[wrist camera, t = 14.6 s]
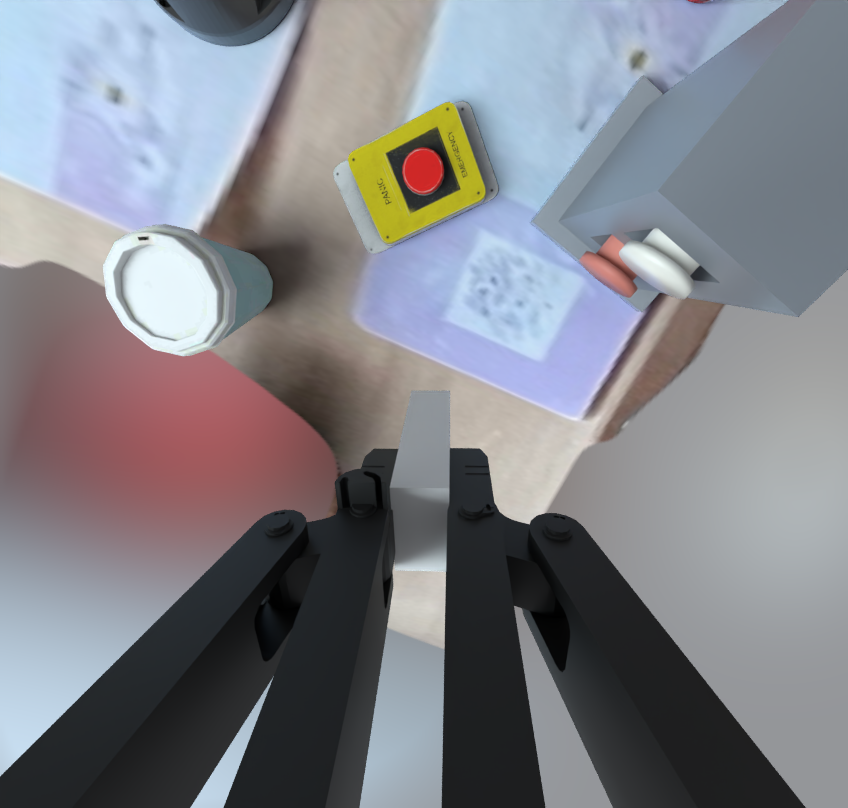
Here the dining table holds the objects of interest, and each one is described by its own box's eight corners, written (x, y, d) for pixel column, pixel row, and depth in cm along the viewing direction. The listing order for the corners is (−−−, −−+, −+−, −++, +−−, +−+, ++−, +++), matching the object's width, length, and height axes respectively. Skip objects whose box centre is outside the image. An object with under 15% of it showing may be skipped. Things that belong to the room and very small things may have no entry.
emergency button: (506, 189, 40) (363, 257, 43) (500, 195, 44) (370, 257, 47) (469, 81, 38) (319, 161, 40) (467, 98, 42) (331, 170, 44)
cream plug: (661, 295, 34) (701, 303, 28) (608, 250, 33) (639, 249, 27) (799, 142, 30) (875, 118, 25) (744, 87, 29) (810, 50, 24)
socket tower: (636, 310, 47) (800, 358, 25) (529, 222, 44) (608, 191, 23) (747, 186, 42) (1063, 113, 21) (636, 81, 40) (860, -124, 18)
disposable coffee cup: (297, 329, 49) (237, 358, 35) (207, 333, 50) (112, 364, 36) (282, 229, 46) (209, 218, 32) (185, 235, 47) (71, 227, 32)
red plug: (616, 295, 41) (640, 300, 36) (572, 258, 41) (590, 259, 35) (721, 173, 38) (766, 160, 32) (675, 131, 37) (713, 110, 31)
